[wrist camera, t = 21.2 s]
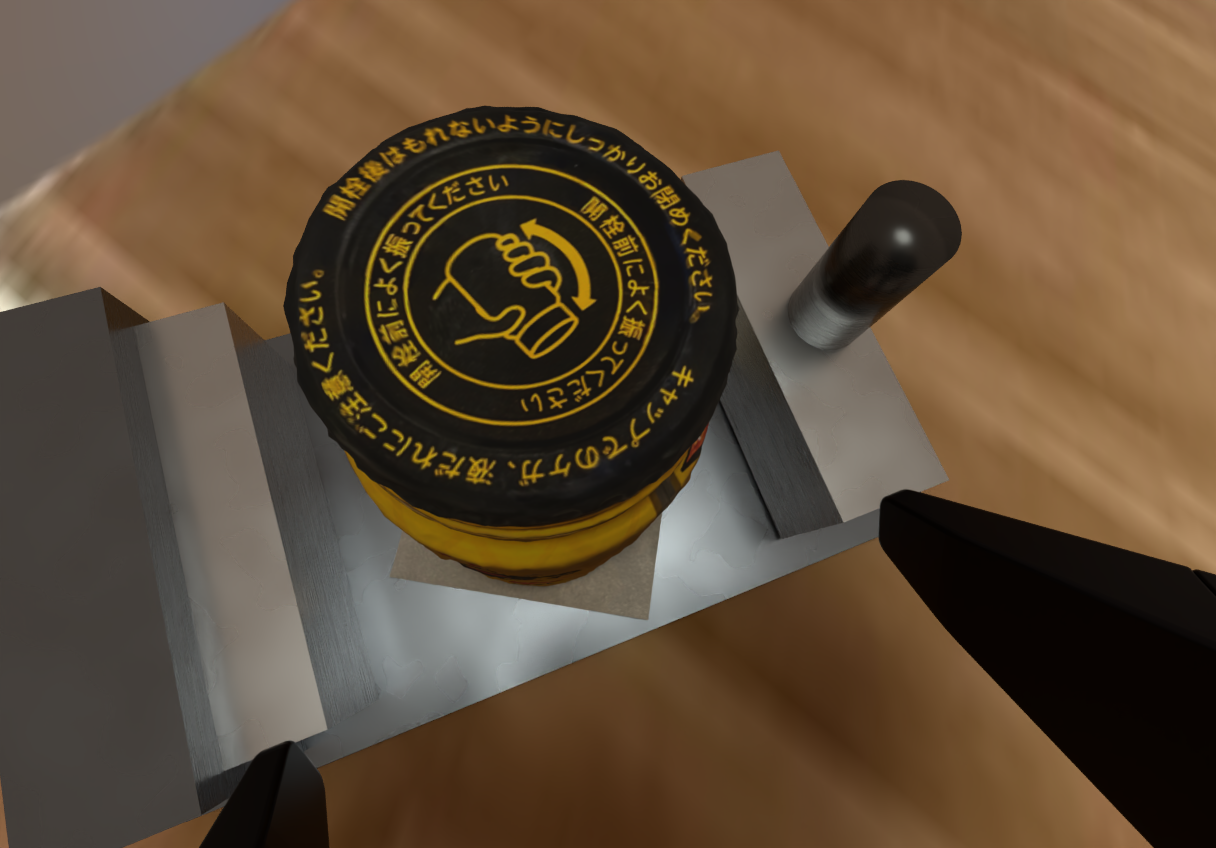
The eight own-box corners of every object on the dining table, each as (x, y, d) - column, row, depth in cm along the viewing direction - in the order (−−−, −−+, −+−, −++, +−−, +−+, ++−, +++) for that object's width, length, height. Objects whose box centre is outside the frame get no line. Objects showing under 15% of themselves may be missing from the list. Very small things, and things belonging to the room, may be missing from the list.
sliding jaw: (736, 232, 21) (844, 22, 13) (867, 504, 19) (1088, 438, 11) (656, 255, 20) (722, 49, 13) (781, 539, 18) (951, 493, 11)
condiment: (390, 577, 17) (73, 527, 6) (460, 307, 20) (338, -111, 8) (647, 620, 17) (842, 656, 6) (683, 349, 20) (870, 6, 8)
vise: (763, 215, 23) (836, 84, 17) (913, 518, 20) (1061, 485, 14) (127, 396, 19) (-57, 305, 13) (208, 808, 16) (18, 923, 10)
